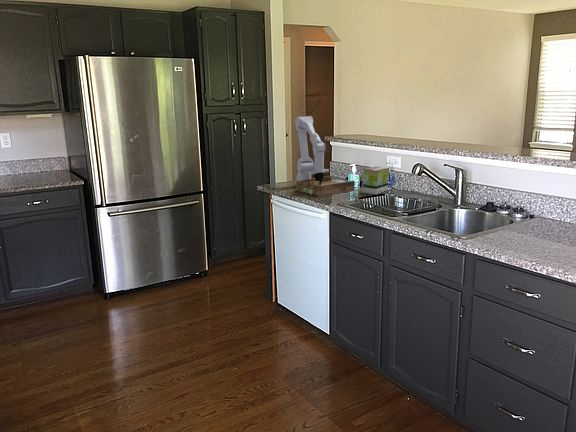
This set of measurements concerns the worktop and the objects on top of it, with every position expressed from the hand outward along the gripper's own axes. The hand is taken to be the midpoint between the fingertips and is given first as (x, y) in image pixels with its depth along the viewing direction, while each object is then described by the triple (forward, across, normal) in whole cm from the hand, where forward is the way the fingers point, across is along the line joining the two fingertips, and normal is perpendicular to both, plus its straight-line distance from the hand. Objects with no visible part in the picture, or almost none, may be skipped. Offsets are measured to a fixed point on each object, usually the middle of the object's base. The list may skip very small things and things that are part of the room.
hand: (318, 185), depth 311 cm
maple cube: (+1, -3, 0) cm, 4 cm away
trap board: (+4, +6, 0) cm, 7 cm away
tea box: (+4, +26, -22) cm, 35 cm away
